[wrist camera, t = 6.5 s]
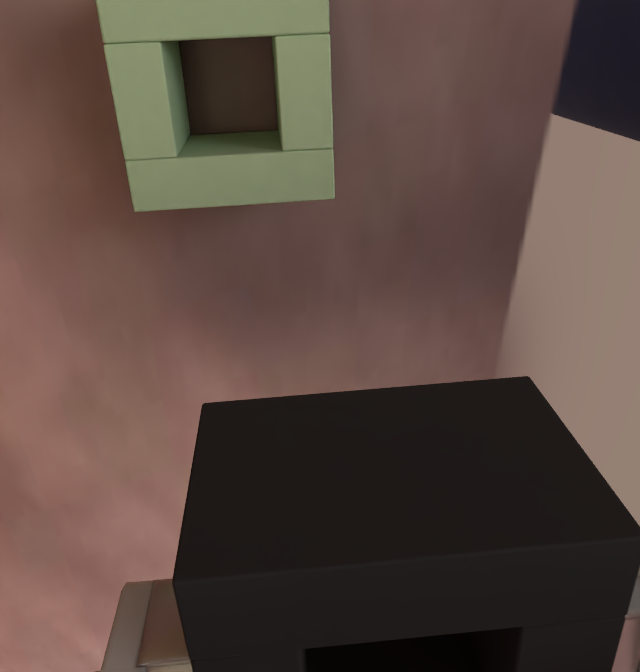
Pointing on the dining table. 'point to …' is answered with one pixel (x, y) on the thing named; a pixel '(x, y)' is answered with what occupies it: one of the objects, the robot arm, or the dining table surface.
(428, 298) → the dining table surface
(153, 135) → the green hollow square block
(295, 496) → the black hollow square block
